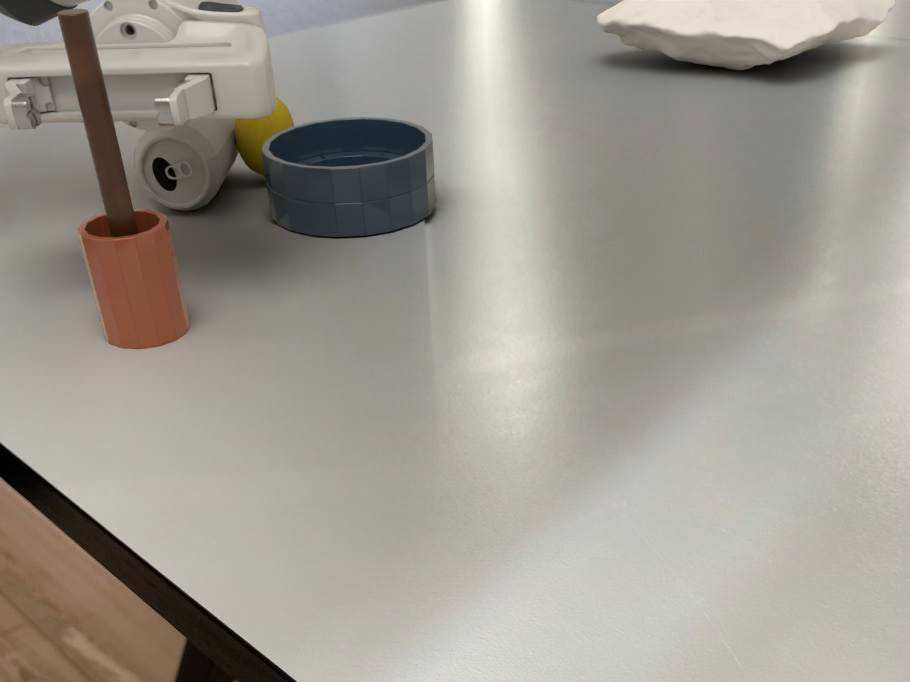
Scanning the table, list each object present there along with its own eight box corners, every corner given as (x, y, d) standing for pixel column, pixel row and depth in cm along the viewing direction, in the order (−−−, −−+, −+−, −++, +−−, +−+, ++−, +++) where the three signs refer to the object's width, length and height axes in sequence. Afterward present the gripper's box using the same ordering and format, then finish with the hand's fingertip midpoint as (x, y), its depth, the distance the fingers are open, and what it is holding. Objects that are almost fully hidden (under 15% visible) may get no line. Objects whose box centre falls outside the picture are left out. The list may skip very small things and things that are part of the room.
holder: (99, 357, 77) (68, 242, 72) (115, 321, 82) (87, 210, 76) (184, 353, 77) (159, 237, 72) (195, 317, 82) (173, 206, 77)
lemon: (236, 177, 106) (221, 86, 101) (292, 168, 108) (280, 77, 102) (251, 194, 102) (236, 100, 97) (309, 184, 104) (298, 91, 99)
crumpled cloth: (931, 70, 122) (946, -27, 118) (612, 81, 121) (615, -16, 117) (859, 56, 142) (870, -28, 138) (585, 65, 142) (587, -18, 137)
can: (147, 102, 103) (112, 142, 94) (221, 77, 102) (193, 115, 93) (183, 182, 108) (154, 228, 99) (255, 160, 106) (231, 203, 97)
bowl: (266, 248, 92) (254, 172, 88) (279, 190, 103) (269, 121, 99) (438, 239, 92) (434, 163, 88) (434, 183, 103) (430, 113, 99)
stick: (132, 336, 78) (53, 15, 65) (137, 325, 80) (60, 9, 67) (158, 334, 78) (84, 14, 66) (162, 324, 80) (91, 7, 67)
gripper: (-8, 14, 78) (-91, 62, 68) (282, 6, 77) (244, 54, 67) (18, 110, 82) (-56, 170, 72) (294, 104, 81) (261, 164, 71)
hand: (92, 114), depth 69 cm, fingers open, 8 cm apart
